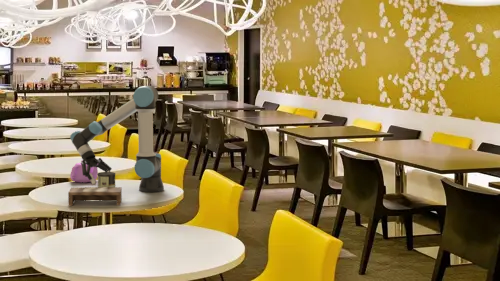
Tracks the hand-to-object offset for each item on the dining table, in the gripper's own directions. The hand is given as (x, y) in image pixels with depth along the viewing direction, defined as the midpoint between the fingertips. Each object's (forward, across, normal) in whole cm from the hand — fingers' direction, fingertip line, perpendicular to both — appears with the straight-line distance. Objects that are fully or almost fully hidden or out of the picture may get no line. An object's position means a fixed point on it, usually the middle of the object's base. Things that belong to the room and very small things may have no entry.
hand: (103, 182), depth 404 cm
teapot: (-25, -24, -38) cm, 52 cm away
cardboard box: (+13, +14, +1) cm, 19 cm away
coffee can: (+8, -1, -5) cm, 9 cm away
